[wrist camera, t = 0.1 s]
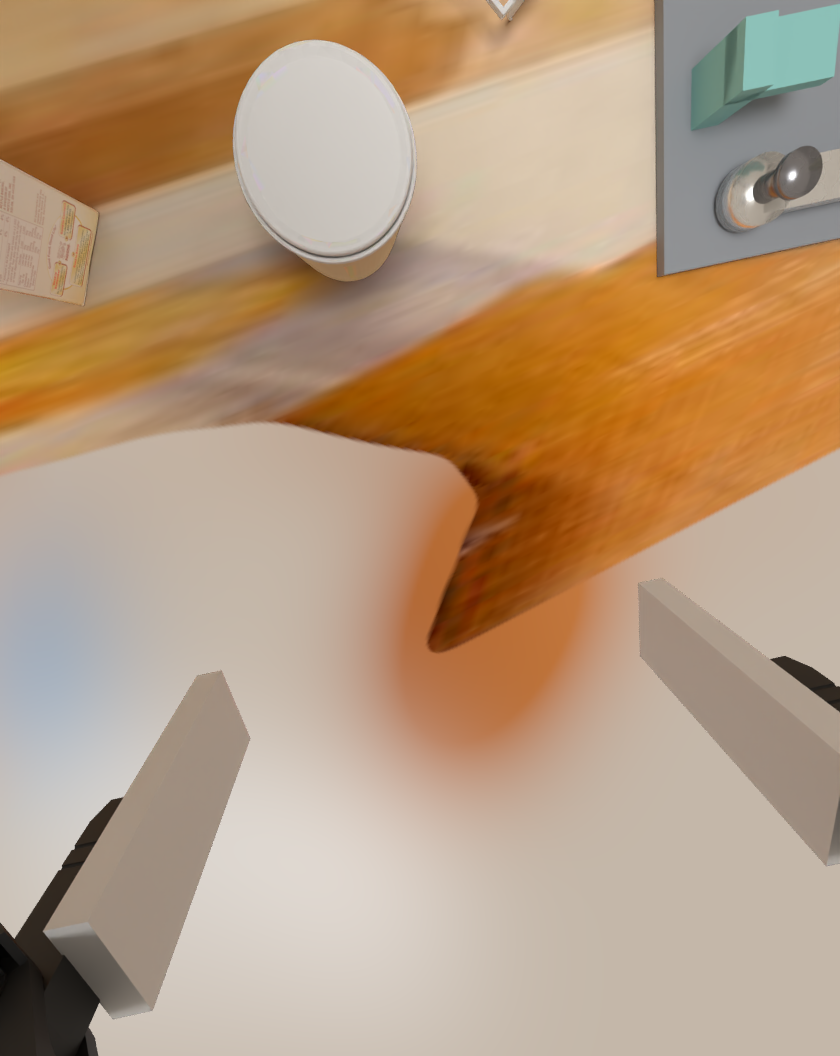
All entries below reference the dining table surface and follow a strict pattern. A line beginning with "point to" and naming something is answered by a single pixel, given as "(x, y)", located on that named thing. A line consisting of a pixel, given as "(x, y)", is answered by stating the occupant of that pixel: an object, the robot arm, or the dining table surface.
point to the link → (777, 187)
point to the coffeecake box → (43, 238)
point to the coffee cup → (326, 156)
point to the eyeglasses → (505, 8)
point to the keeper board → (739, 118)
